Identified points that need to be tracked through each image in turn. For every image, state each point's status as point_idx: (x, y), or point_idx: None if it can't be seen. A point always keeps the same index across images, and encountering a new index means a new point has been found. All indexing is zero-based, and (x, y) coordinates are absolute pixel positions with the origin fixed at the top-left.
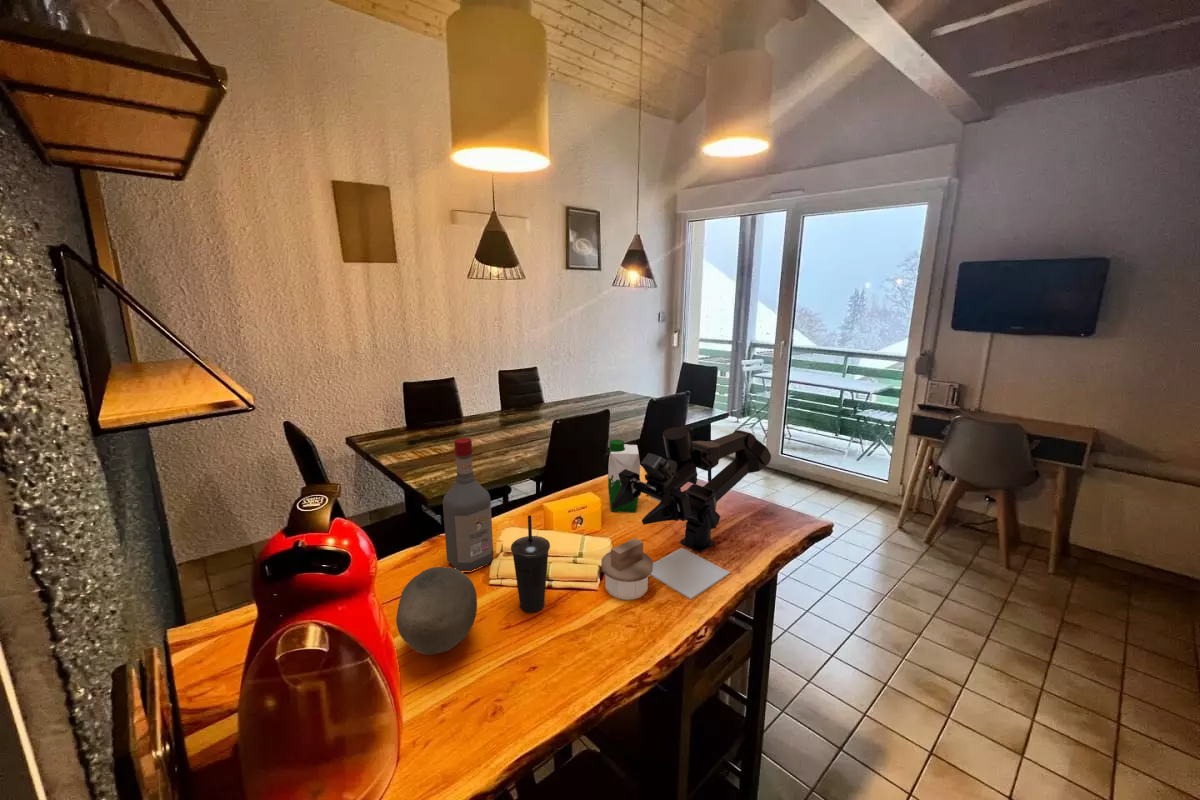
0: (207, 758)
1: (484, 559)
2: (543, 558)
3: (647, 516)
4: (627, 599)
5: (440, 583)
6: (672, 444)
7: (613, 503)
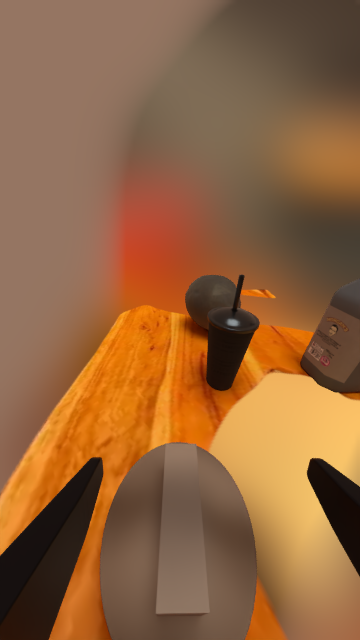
0: None
1: (315, 371)
2: (209, 327)
3: (70, 486)
4: None
5: (205, 277)
6: None
7: (326, 468)
